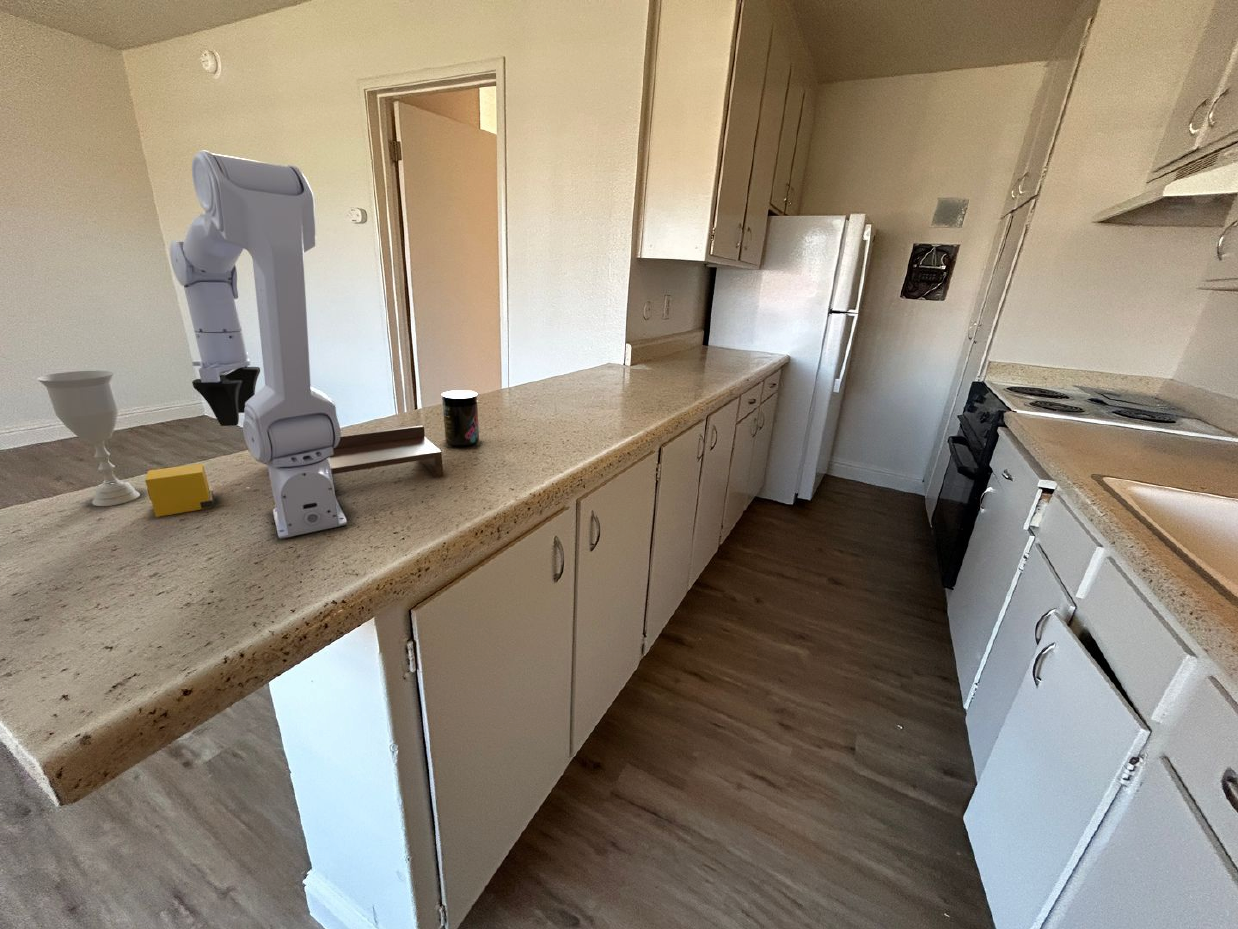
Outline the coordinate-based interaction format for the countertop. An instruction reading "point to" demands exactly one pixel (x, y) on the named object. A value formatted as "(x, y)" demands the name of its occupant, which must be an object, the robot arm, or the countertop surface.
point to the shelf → (385, 450)
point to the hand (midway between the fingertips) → (238, 418)
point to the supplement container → (460, 418)
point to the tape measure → (179, 489)
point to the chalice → (90, 422)
